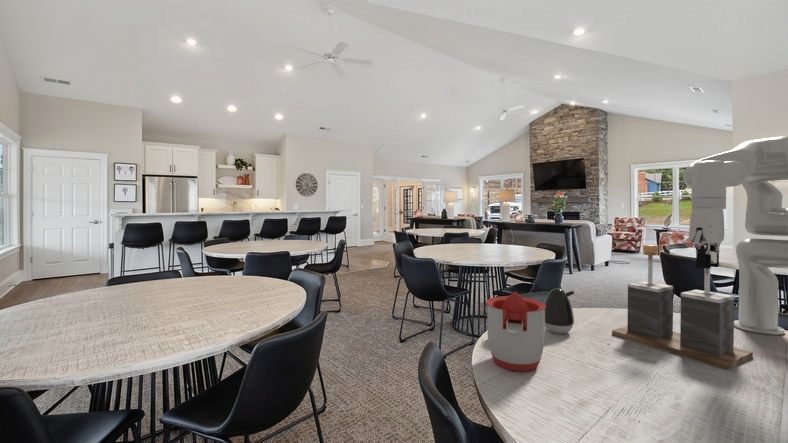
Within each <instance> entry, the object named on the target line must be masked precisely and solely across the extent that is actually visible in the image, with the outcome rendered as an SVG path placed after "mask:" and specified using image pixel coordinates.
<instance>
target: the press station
mask: <svg viewBox="0 0 788 443" xmlns="http://www.w3.org/2000/svg"><path fill="white" fill-rule="evenodd" d="M734 321H735V295H734V294H726V293H721V292H715V291H710V295H704V290H701V289H693V290H688V291H683V292H680V321H679V322H680V323H679V324H680V327H679V328H680V330H679V331H680V332H677V331H673V330H674V285H669V284H665V283H664V284H663V283H657V282H652V286H649V285H648V281H645V280H642V281H637V282H632V283H627V325H626V326H622V327H619V328H616V329H612V332H611V334H612V336H616V337H619V338H622V339H625V340H629V341H632V342H635V343H639V344H642V345H645V346H649V347H652V348H654V349H658V350H662V351H664V352H668V353H672V354H675V355H677V356H681V357H684V358H688V359H691V360H695V361H697V362H702V363H704V364H708V365H710V366H715V367H718V368H721V369H725V370H729V369H731V368H733V367H736V366H738V365H740V364H742V363H745V362H746V361H749V360H750V359H753V357H754V352H753V351H751V350H747V349H746V350H745V349H742V348H738V347H734V346H735V345H734V344H735V343H734V342H735V340H734V336H735V333H734V332H735V326H734Z"/></svg>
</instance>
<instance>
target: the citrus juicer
mask: <svg viewBox="0 0 788 443" xmlns="http://www.w3.org/2000/svg"><path fill="white" fill-rule="evenodd" d="M485 303H486V307H487V310H486V311H487V313H486V317H487V318H486V319H487V341H488V345H489V350H490V354H491V357H492V360H493V361H494V363H495V364H496V365H497V366H499V367H500V368H504V369H506V370H510V371H511V370H512V371H518V372H531V371H532V370H534V369H536V368H538V367H539V364H540V363H541V362H540V361H541V359H542V355H543V352H544V348H545V347H544V346H545V335H546V333H545V330H546V327H545V308H546V305H545V304H544V303H545V302H543V301H540V300H537V299H534V298H530V297H529V298H528V297H524V296H521V295H520V294H519V293H518V292H516V291H513V292H511V294H510V295H509V296H505V295H504V296H495V297H491V298H488V299H487V300H486V302H485Z"/></svg>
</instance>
